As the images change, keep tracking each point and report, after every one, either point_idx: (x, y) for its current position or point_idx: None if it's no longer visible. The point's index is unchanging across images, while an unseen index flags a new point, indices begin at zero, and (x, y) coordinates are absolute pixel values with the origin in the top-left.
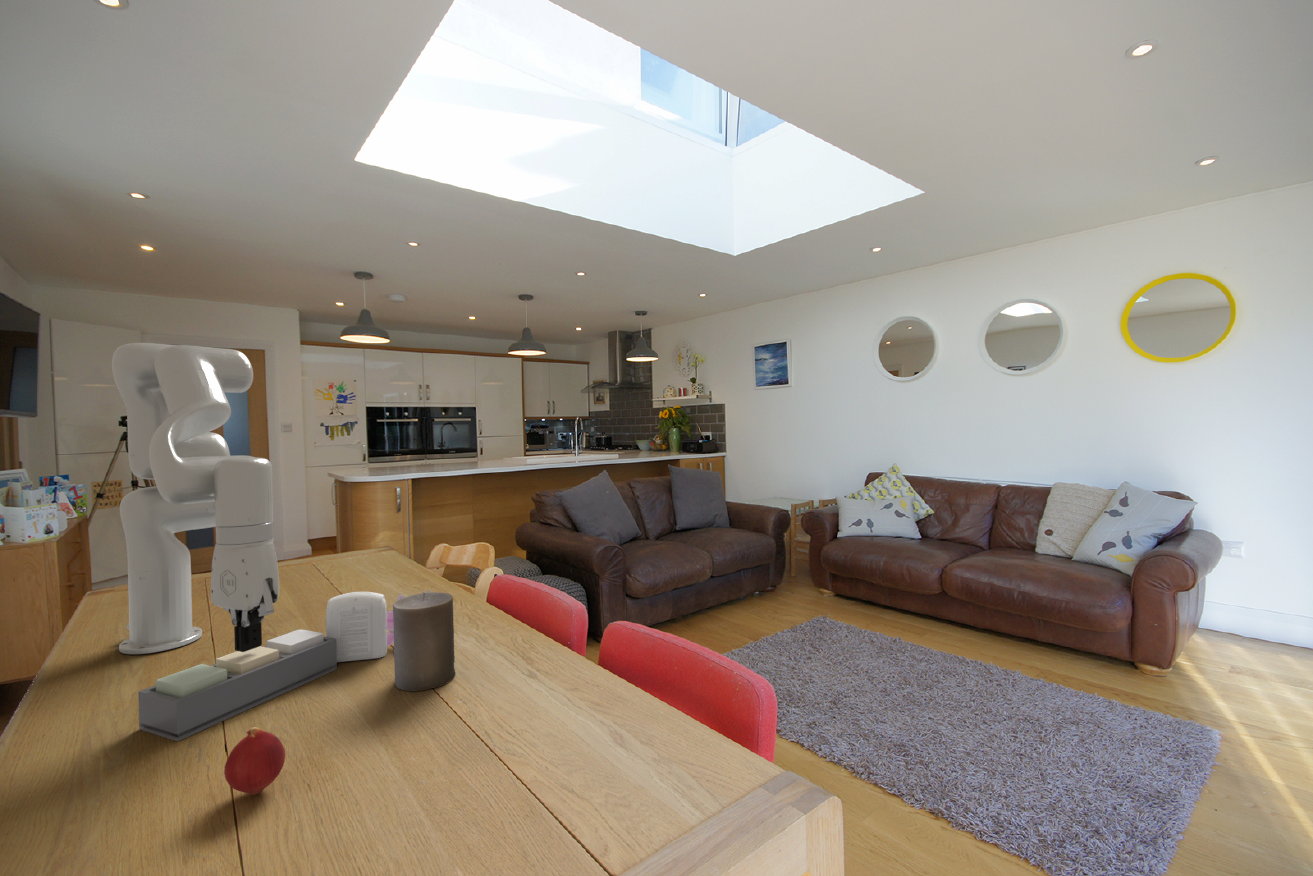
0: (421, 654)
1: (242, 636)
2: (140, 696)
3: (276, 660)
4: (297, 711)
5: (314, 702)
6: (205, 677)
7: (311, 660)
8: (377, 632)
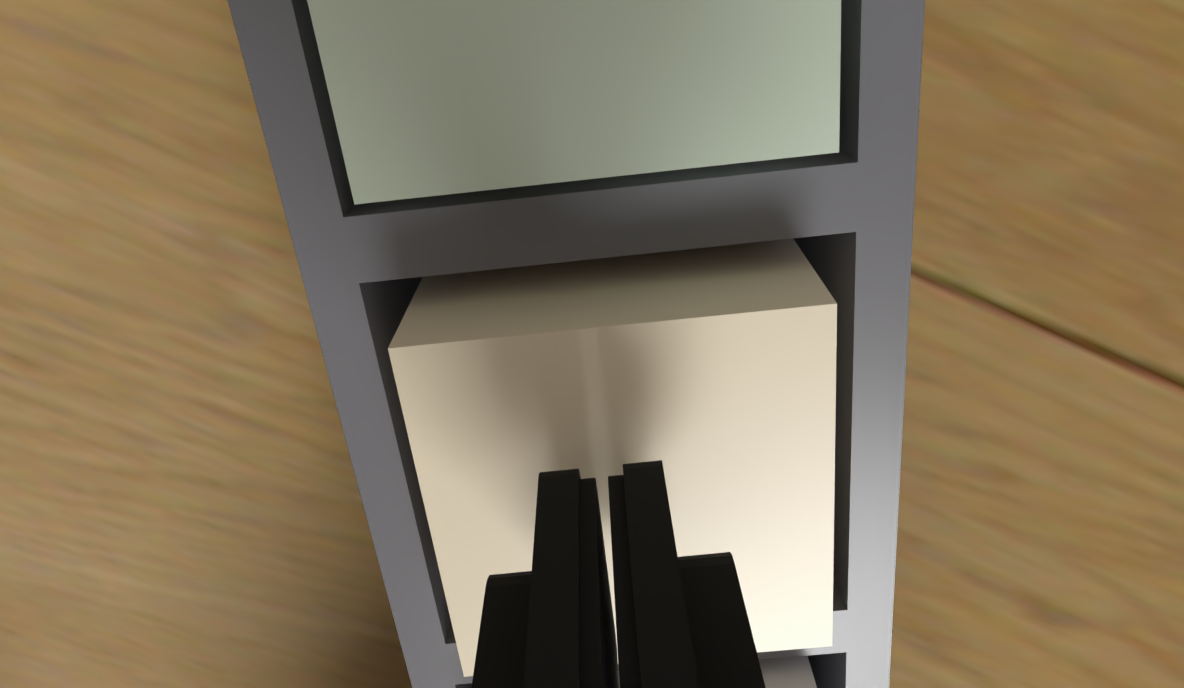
0: None
1: (529, 611)
2: None
3: (429, 584)
4: (76, 351)
5: (128, 462)
6: None
7: None
8: None
